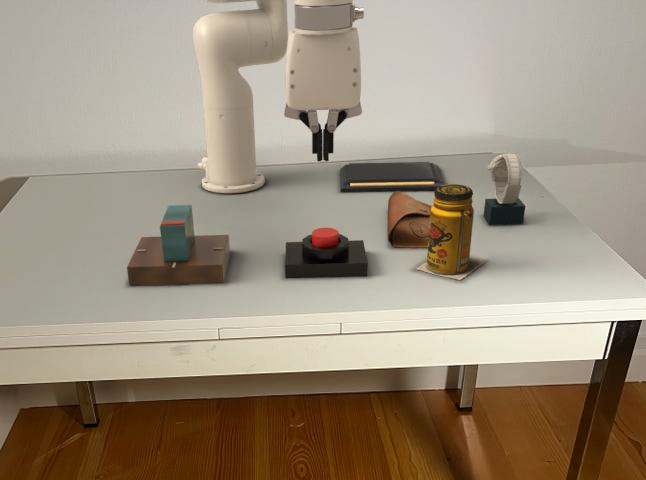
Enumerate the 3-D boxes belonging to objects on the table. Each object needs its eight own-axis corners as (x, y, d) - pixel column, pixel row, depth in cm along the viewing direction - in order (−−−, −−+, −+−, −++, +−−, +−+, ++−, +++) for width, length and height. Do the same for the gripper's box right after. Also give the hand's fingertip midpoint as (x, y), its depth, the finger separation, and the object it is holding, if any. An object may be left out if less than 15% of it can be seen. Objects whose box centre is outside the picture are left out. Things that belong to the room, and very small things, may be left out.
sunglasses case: (443, 245, 118) (423, 210, 115) (402, 266, 120) (382, 232, 118) (436, 207, 133) (418, 175, 131) (400, 226, 136) (382, 195, 133)
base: (128, 287, 111) (125, 267, 109) (144, 252, 122) (142, 234, 121) (223, 285, 110) (221, 265, 108) (230, 250, 121) (229, 232, 120)
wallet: (439, 159, 154) (446, 181, 141) (438, 168, 155) (445, 191, 142) (340, 160, 156) (338, 182, 143) (340, 169, 157) (338, 192, 144)
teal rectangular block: (172, 239, 119) (168, 204, 116) (194, 238, 118) (191, 203, 115) (163, 261, 111) (159, 224, 108) (188, 261, 111) (184, 223, 108)
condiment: (414, 270, 112) (419, 191, 106) (442, 251, 117) (449, 175, 111) (459, 281, 107) (467, 200, 101) (486, 262, 113) (495, 183, 107)
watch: (513, 211, 131) (521, 147, 125) (525, 227, 124) (535, 161, 118) (480, 212, 131) (487, 149, 126) (491, 229, 124) (499, 162, 119)
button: (312, 248, 111) (312, 237, 110) (311, 238, 115) (311, 227, 114) (339, 248, 111) (339, 236, 110) (338, 238, 114) (338, 227, 113)
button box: (285, 278, 111) (284, 253, 109) (286, 255, 119) (285, 231, 117) (367, 276, 110) (368, 251, 108) (362, 253, 118) (363, 228, 116)
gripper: (378, 12, 101) (373, 149, 110) (267, 17, 102) (271, 152, 111) (383, 20, 95) (377, 165, 104) (264, 24, 96) (269, 167, 105)
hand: (322, 158), depth 108 cm, fingers closed
